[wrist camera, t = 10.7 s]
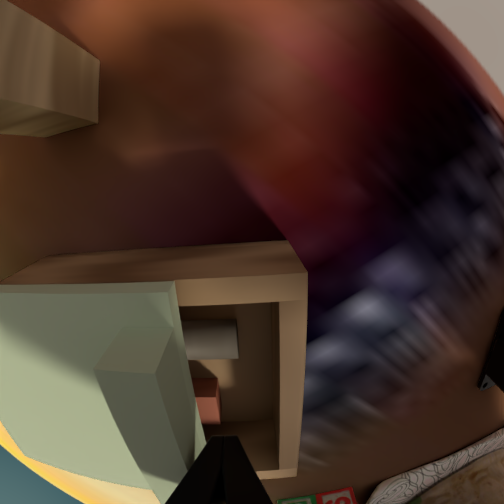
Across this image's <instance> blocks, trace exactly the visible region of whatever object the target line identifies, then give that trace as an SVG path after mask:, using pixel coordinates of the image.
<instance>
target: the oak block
mask: <svg viewBox="0 0 504 504" xmlns="http://www.w3.org/2000/svg"><path fill="white" fill-rule="evenodd" d="M99 70H100V61H99V60H98V59H97V58H95V57H94V56H92V55H91V54H90V53H88V52H87V51H85V50H84V49H82V48H81V47H79V46H78V45H76V44H75V43H73V42H72V41H71V40H69V39H68V38H66V37H65V36H63V35H61V34H60V33H58V32H57V31H55V30H54V29H52V28H51V27H49V26H48V25H46V24H45V23H43V22H41V21H40V20H38V19H37V18H35V17H33V16H32V15H30V14H28V13H27V12H25V11H24V10H22V9H20V8H19V7H17V6H15V5H14V4H12V3H10V2H8V1H7V0H0V134H10V135H22V136H33V137H43V138H46V137H49V136H52V135H56V134H59V133H62V132H66V131H69V130H73V129H77V128H81V127H85V126H88V125H93V124H97V123H98V93H99Z"/></svg>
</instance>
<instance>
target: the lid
mask: <svg viewBox="0 0 504 504" xmlns="http://www.w3.org/2000/svg"><path fill="white" fill-rule="evenodd" d="M0 421H1V422H2V424H3V426H4V427H5V429H6V430H7V432H8V433H9V435H10V436H11V437H12V439H13V440H14V442H15V443H16V445H17V446H18V447H19V449H20V450H21V451H22V453H23V454H24V455H25V456H27V457H29V458H32V459H34V460H37V461H39V462H42V463H45V464H47V465H50V466H53V467H56V468H59V469H62V470H65V471H68V472H72V473H75V474H78V475H82V476H86V477H89V478H93V479H97V480H101V481H106V482H110V483H115V484H120V485H125V486H130V487H136V488H142V489H148V490H152V491H153V492H154V494H155V495H156V497H157V498H158V500H159V501H160V503H161V504H165V502H166V501H167V499H168V498H169V497H170V495H171V494H172V493H173V491H174V490H175V488H176V487H177V486H178V484H179V483H180V481H181V480H182V479H183V477H184V476H185V474H186V473H187V471H188V470H189V469H190V467H191V466H192V464H193V463H194V461H195V460H196V458H197V457H198V455H199V454H200V452H201V451H202V449H203V448H204V446H205V445H206V440H205V436H204V432H203V428H202V424H201V420H200V416H199V411H198V407H197V403H196V398H195V394H194V389H193V384H192V379H191V375H190V370H189V365H188V359H187V354H186V349H185V343H184V338H183V332H182V326H181V320H180V314H179V308H178V301H177V295H176V288H175V281H164V282H136V283H100V284H40V285H0Z"/></svg>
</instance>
